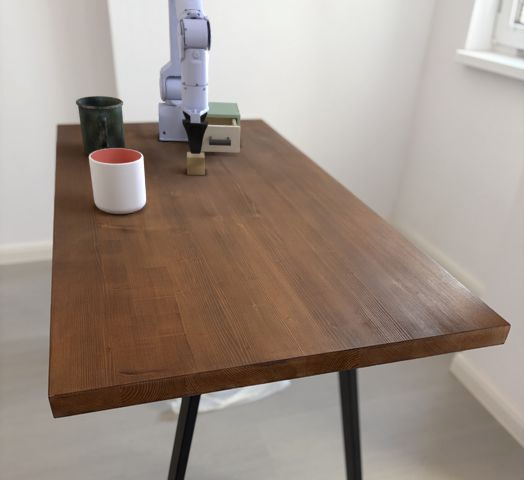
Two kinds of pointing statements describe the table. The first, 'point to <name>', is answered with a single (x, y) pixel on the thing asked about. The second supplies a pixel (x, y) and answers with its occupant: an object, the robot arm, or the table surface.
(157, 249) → the table surface
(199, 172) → the block
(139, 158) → the cup
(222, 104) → the cabinet
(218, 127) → the drawer
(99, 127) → the mug
